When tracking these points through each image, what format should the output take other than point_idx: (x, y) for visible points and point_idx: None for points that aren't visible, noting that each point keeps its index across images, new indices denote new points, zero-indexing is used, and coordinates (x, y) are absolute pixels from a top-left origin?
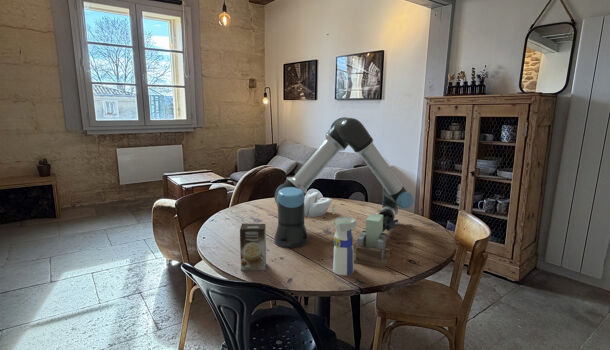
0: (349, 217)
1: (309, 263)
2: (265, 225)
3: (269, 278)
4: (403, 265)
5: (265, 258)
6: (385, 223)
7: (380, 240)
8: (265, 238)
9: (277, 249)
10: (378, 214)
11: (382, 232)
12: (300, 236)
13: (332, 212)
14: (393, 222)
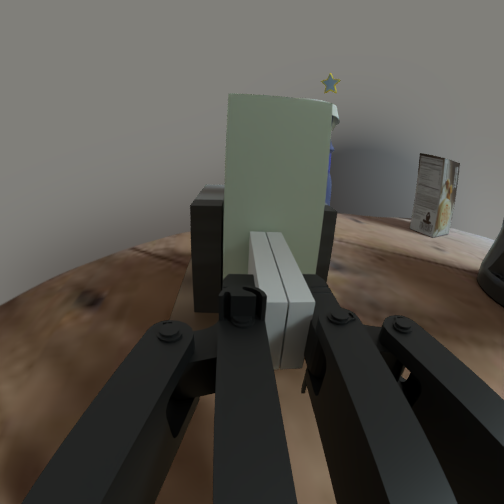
0: (309, 99)
1: (383, 246)
2: (443, 161)
3: (382, 220)
4: (130, 277)
5: (422, 216)
6: (224, 377)
7: (215, 186)
8: (434, 182)
9: (480, 265)
10: (268, 96)
11: (223, 245)
12: (491, 256)
13: (335, 91)
14: (43, 475)
